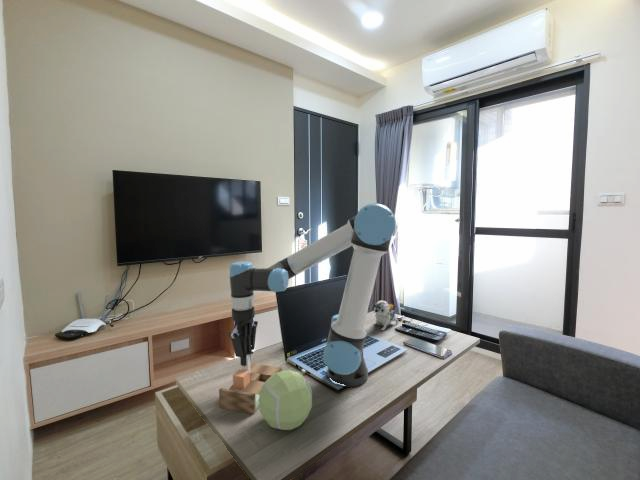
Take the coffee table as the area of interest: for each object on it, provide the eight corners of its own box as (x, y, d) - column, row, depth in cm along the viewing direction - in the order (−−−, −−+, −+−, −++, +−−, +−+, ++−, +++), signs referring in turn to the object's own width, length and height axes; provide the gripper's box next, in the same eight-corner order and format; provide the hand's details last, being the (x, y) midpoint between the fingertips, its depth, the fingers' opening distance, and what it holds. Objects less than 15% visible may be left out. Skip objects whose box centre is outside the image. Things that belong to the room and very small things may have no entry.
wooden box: (282, 375, 115) (281, 359, 115) (254, 413, 94) (253, 395, 93) (253, 371, 118) (252, 356, 118) (219, 407, 97) (219, 389, 96)
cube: (249, 381, 106) (249, 370, 105) (243, 388, 102) (243, 377, 101) (239, 380, 107) (239, 369, 106) (233, 386, 103) (232, 375, 103)
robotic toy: (365, 328, 159) (365, 300, 157) (383, 319, 171) (384, 293, 170) (386, 335, 150) (386, 305, 148) (404, 325, 162) (404, 297, 161)
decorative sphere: (274, 451, 79) (272, 396, 78) (252, 418, 92) (250, 371, 90) (322, 427, 88) (321, 378, 86) (296, 400, 100) (295, 356, 98)
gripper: (246, 300, 112) (249, 362, 114) (221, 311, 100) (225, 380, 103) (263, 302, 109) (266, 365, 111) (239, 314, 97) (243, 384, 100)
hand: (246, 372), depth 107 cm, fingers closed
